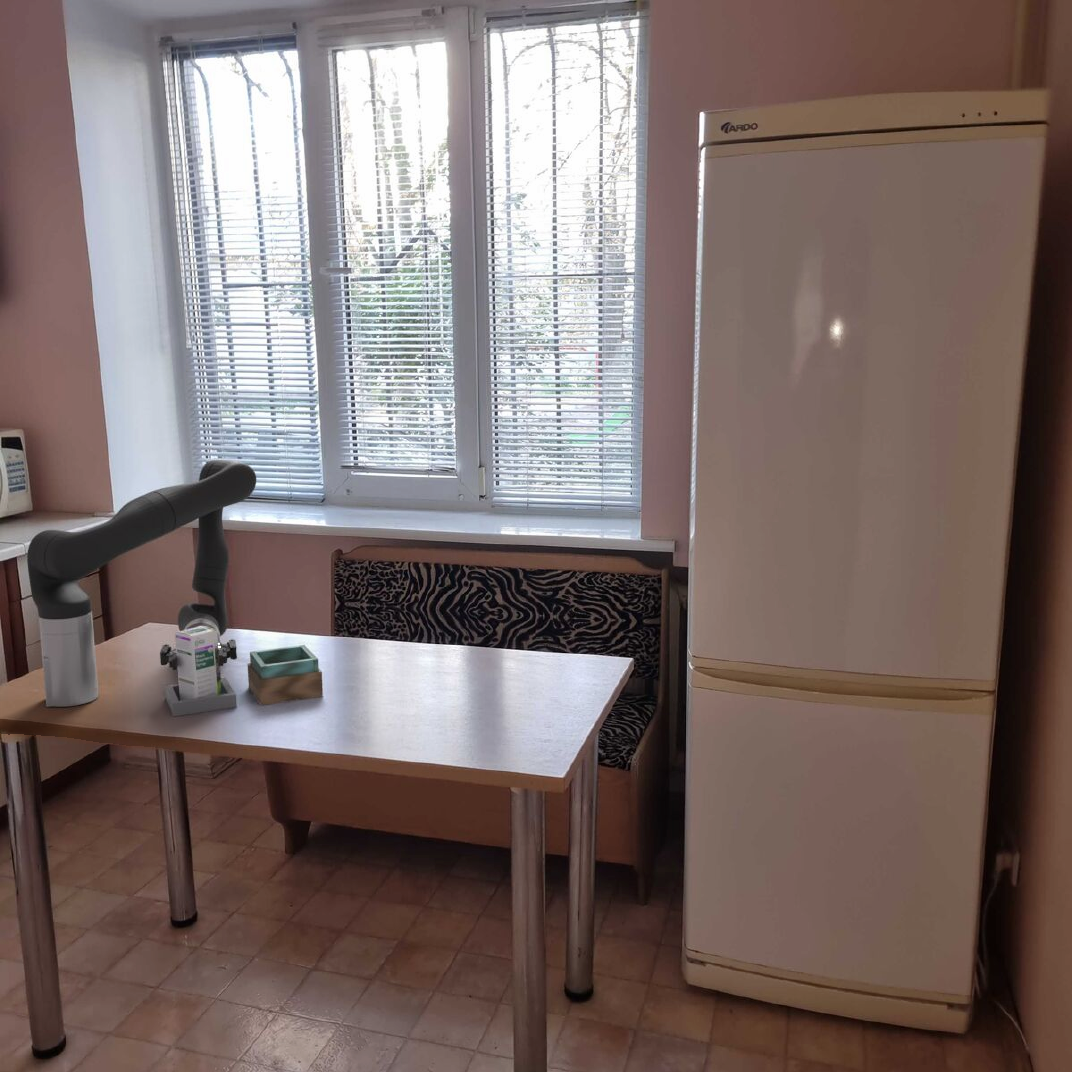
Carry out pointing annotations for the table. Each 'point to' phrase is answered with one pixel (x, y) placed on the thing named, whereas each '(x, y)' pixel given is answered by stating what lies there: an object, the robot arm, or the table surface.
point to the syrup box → (198, 662)
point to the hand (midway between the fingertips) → (198, 662)
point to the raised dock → (284, 675)
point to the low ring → (200, 700)
